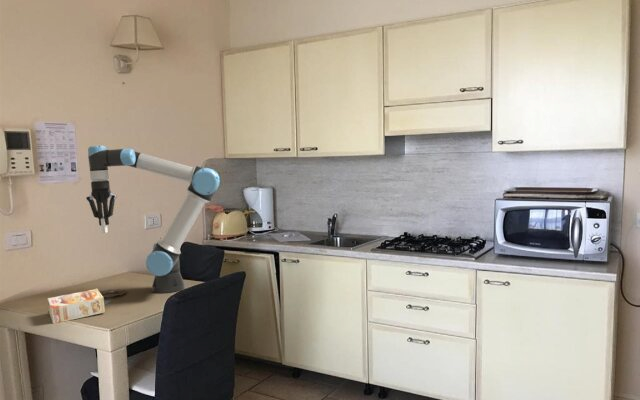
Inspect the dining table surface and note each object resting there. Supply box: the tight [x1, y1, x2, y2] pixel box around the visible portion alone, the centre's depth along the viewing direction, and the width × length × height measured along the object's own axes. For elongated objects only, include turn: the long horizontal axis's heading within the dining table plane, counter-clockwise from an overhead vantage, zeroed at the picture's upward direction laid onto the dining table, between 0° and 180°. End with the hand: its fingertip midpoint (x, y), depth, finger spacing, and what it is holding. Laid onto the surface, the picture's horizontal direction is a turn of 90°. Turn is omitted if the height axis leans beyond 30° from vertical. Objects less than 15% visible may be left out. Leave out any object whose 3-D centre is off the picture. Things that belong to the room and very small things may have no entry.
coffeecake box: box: [47, 288, 106, 324], centre depth 214 cm, size 15×7×20 cm
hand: (105, 232), depth 233 cm, fingers closed
